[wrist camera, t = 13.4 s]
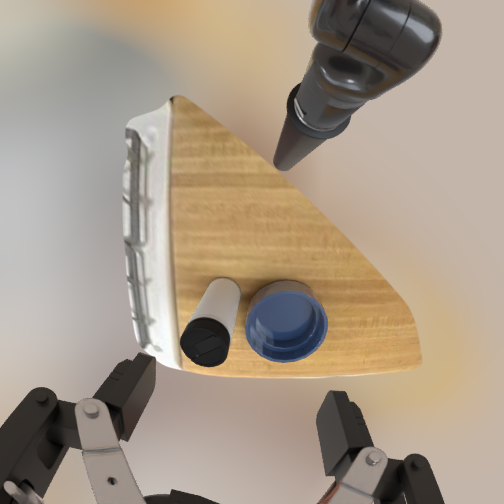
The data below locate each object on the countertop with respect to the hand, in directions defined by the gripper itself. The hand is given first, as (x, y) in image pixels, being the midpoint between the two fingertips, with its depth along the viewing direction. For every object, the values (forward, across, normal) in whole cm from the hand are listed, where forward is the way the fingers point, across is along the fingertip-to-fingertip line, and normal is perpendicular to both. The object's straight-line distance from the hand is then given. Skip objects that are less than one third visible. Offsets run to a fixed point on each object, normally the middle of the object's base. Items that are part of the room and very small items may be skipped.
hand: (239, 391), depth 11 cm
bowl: (+38, -8, +13) cm, 41 cm away
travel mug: (+38, +4, +11) cm, 40 cm away
